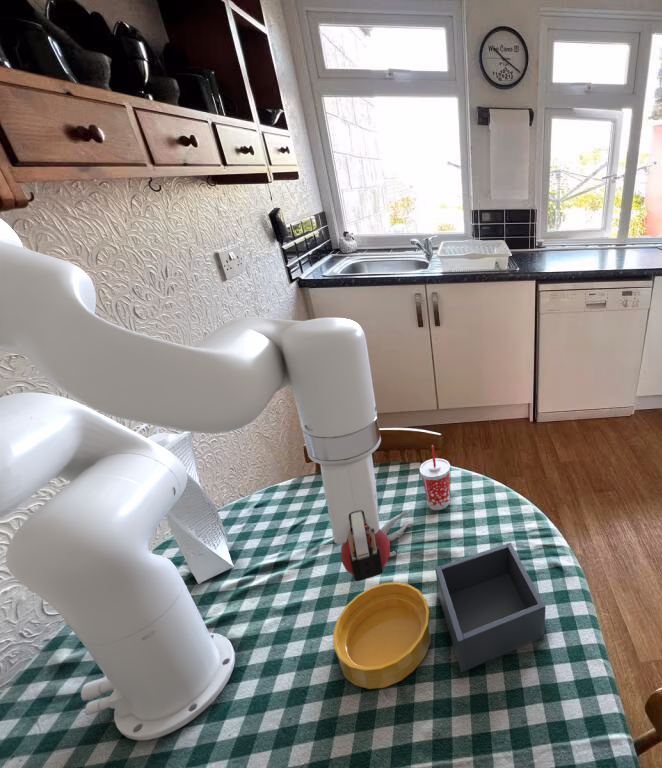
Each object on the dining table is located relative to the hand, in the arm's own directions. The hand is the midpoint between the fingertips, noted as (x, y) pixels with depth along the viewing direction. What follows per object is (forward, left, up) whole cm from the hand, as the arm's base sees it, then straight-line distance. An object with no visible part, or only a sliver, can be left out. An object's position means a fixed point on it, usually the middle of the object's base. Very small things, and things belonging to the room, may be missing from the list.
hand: (366, 554), depth 52 cm
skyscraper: (-26, +26, -18) cm, 41 cm away
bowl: (0, 0, -17) cm, 17 cm away
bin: (+15, -2, -17) cm, 23 cm away
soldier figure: (+2, +19, -18) cm, 26 cm away
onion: (0, 0, -3) cm, 3 cm away
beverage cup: (+14, +26, -18) cm, 34 cm away
